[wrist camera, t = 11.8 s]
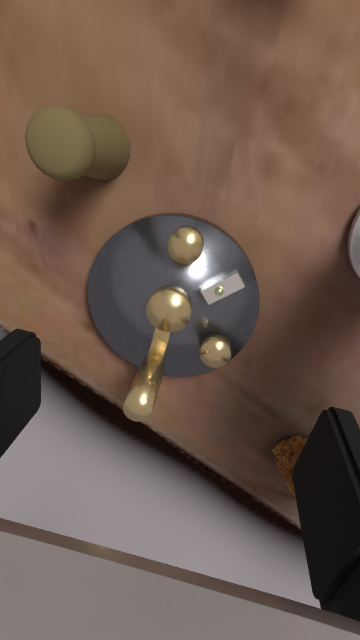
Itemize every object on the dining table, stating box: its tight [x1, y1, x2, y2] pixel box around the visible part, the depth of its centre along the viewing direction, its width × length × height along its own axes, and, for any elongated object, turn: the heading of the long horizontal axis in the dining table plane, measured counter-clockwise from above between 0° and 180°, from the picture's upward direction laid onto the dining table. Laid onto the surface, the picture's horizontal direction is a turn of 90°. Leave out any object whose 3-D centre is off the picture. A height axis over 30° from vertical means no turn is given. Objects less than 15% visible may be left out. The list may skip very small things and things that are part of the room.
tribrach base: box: [88, 213, 259, 377], centre depth 39 cm, size 20×20×4 cm
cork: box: [25, 105, 130, 181], centre depth 29 cm, size 6×6×11 cm
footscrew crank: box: [123, 285, 192, 422], centre depth 36 cm, size 12×5×9 cm, turn 165°
